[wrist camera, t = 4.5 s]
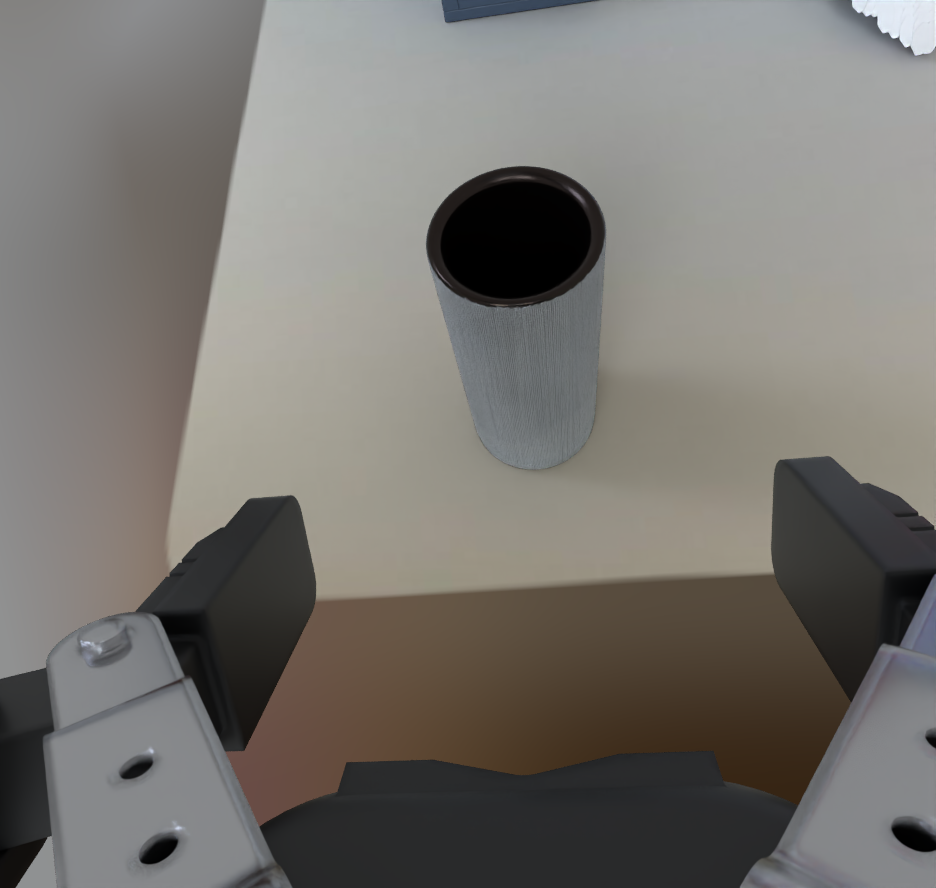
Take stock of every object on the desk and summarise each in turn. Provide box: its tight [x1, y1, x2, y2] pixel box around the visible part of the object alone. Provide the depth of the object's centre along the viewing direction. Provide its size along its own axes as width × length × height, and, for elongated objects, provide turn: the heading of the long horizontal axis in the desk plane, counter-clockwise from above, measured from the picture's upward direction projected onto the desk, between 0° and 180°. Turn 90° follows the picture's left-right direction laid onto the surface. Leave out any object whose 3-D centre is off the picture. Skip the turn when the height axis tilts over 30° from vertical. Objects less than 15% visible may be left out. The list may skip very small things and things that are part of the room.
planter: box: [426, 166, 606, 469], centre depth 22 cm, size 4×4×10 cm
